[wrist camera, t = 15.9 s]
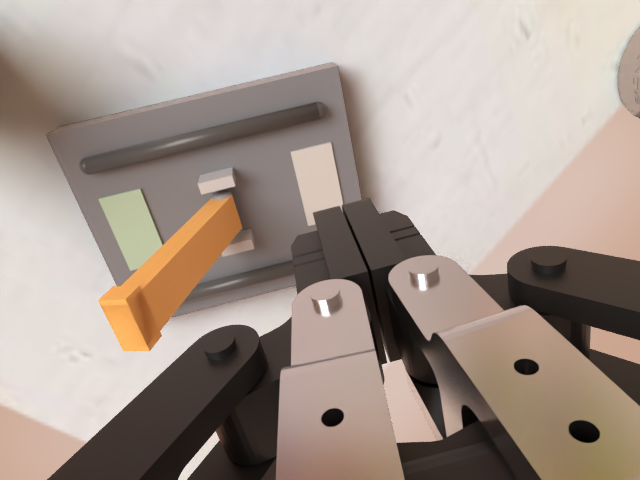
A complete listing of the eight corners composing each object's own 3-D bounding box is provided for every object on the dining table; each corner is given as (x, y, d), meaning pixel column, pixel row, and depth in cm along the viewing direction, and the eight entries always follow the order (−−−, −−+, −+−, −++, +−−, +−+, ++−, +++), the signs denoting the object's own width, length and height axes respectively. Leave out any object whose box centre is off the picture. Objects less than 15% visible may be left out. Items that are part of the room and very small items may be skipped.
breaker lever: (234, 187, 34) (125, 299, 23) (247, 226, 36) (149, 351, 24) (215, 189, 35) (98, 300, 23) (227, 228, 36) (123, 351, 25)
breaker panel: (331, 62, 35) (343, 68, 31) (366, 251, 42) (379, 277, 38) (58, 126, 34) (34, 142, 30) (141, 309, 41) (130, 341, 37)
